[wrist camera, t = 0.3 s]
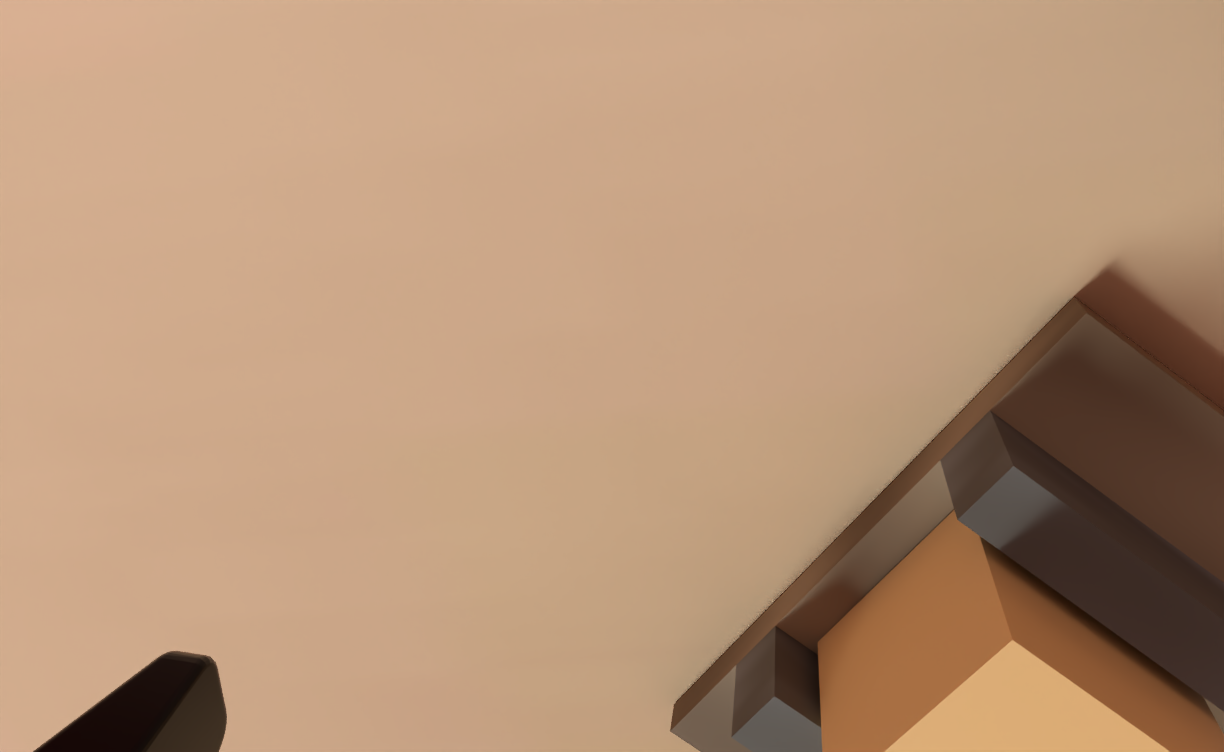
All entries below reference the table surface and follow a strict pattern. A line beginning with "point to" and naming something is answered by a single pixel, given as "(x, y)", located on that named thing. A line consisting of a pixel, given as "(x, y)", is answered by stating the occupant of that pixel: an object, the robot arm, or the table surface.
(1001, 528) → the chute
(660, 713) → the table surface
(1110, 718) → the block
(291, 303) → the table surface
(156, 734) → the robot arm
